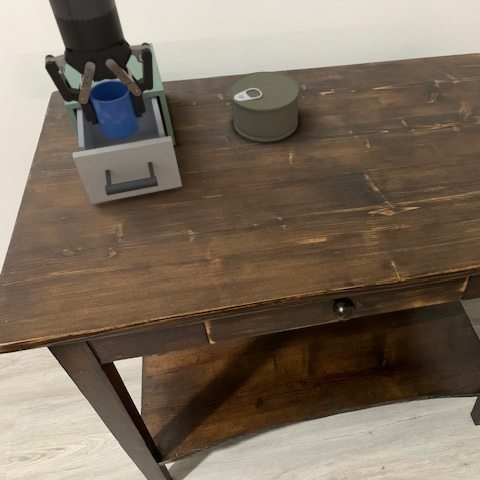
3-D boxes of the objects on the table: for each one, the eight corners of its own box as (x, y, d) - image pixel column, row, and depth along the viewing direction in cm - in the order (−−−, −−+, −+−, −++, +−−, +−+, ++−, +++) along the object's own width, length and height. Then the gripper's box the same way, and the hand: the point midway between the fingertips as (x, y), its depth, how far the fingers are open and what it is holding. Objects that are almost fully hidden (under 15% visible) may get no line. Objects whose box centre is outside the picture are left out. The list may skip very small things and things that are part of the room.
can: (311, 130, 96) (311, 96, 91) (251, 150, 91) (248, 116, 86) (279, 97, 102) (277, 65, 97) (222, 115, 98) (217, 82, 93)
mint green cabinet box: (175, 145, 92) (163, 89, 84) (85, 160, 88) (64, 104, 80) (163, 96, 102) (151, 42, 94) (82, 108, 98) (63, 54, 90)
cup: (101, 141, 77) (89, 105, 73) (99, 119, 81) (87, 83, 76) (141, 135, 79) (132, 98, 74) (138, 113, 82) (128, 77, 78)
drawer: (187, 207, 80) (177, 161, 74) (92, 226, 77) (73, 180, 70) (169, 132, 92) (159, 87, 86) (87, 146, 89) (70, 100, 83)
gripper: (20, 24, 62) (66, 141, 75) (146, 10, 65) (170, 124, 78) (22, -3, 67) (65, 111, 79) (139, -15, 70) (163, 96, 83)
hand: (117, 117), depth 79 cm, fingers closed on cup, 5 cm apart
